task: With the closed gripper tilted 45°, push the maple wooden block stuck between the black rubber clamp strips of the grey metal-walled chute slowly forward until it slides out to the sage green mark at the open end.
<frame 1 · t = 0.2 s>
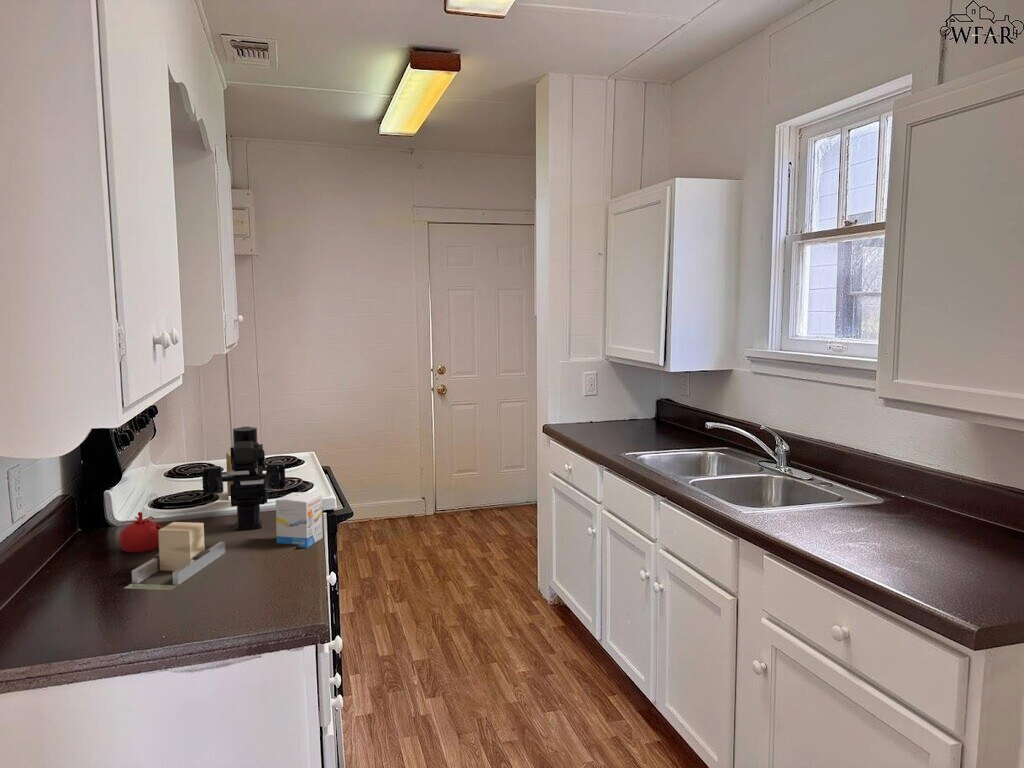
hand: (243, 487, 162), 17 cm above the worktop, tool horizontal, fingers open, 9 cm apart
jammed block: (182, 546, 155), point 5 cm above the worktop, slide at 0.0 cm
ink box: (300, 542, 175), on the worktop
chute: (181, 570, 155), on the worktop
sandwich container: (255, 496, 220), on the worktop
pomegranate: (142, 551, 168), on the worktop
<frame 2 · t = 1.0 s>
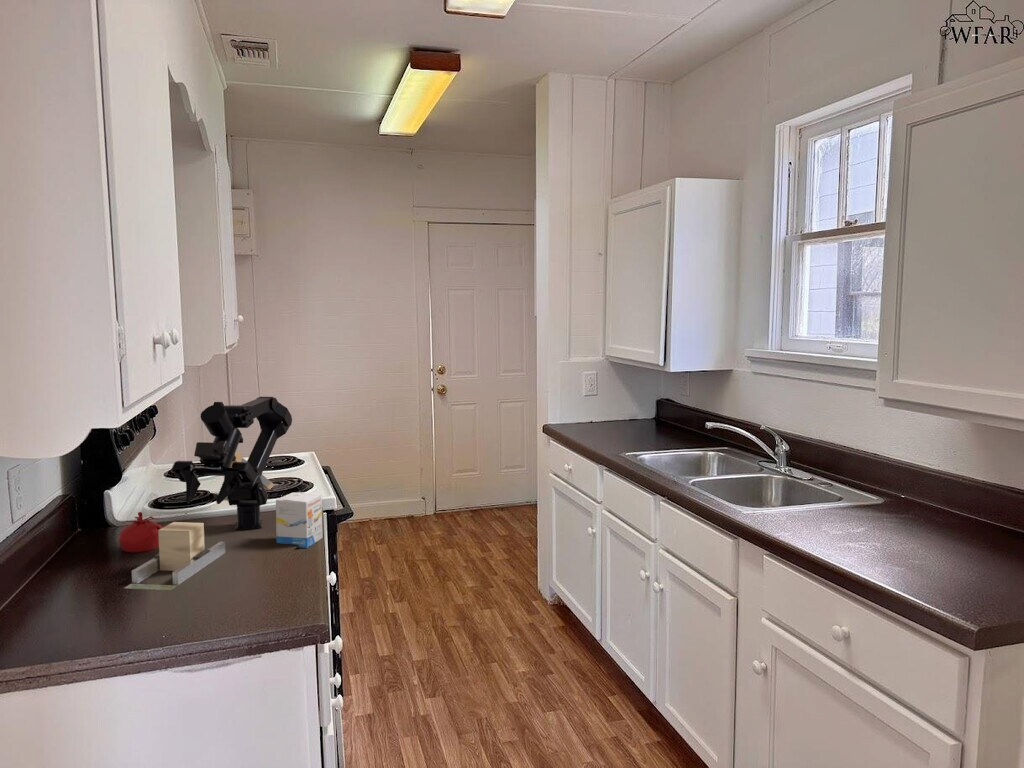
hand: (202, 502, 163), 13 cm above the worktop, tool tilted 45°, fingers open, 7 cm apart
nothing on the worktop moved.
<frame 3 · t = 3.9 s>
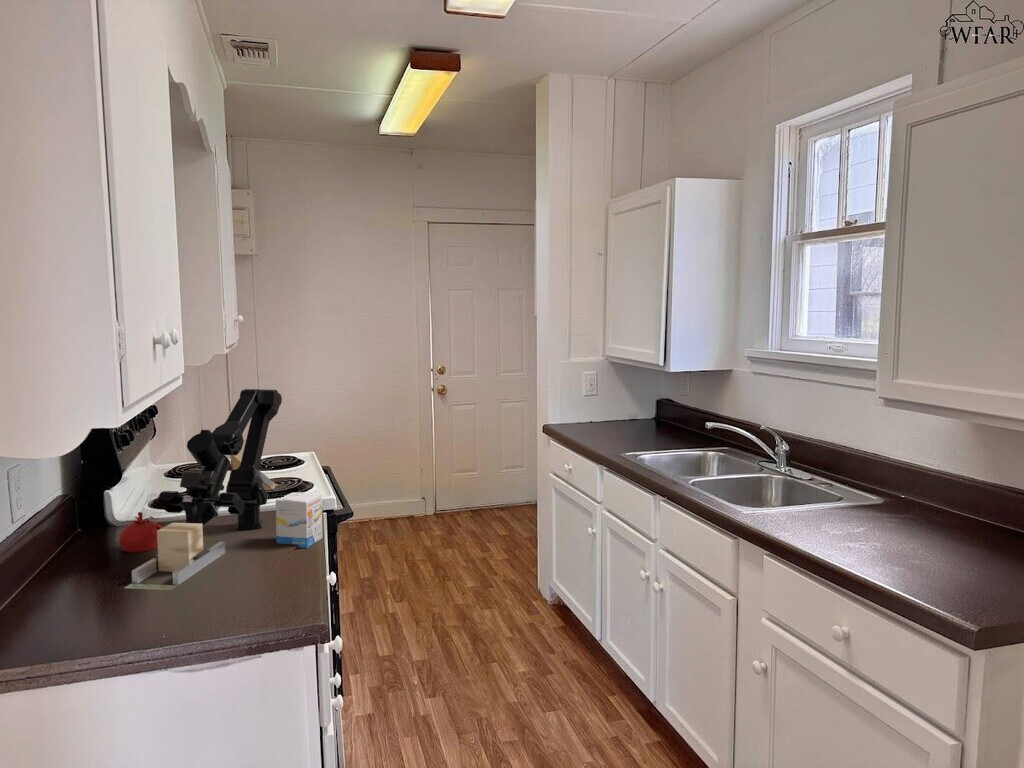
hand: (188, 535, 157), 7 cm above the worktop, tool tilted 45°, fingers closed, pressing on jammed block
jammed block: (180, 547, 154), point 5 cm above the worktop, slide at 0.5 cm, touching gripper
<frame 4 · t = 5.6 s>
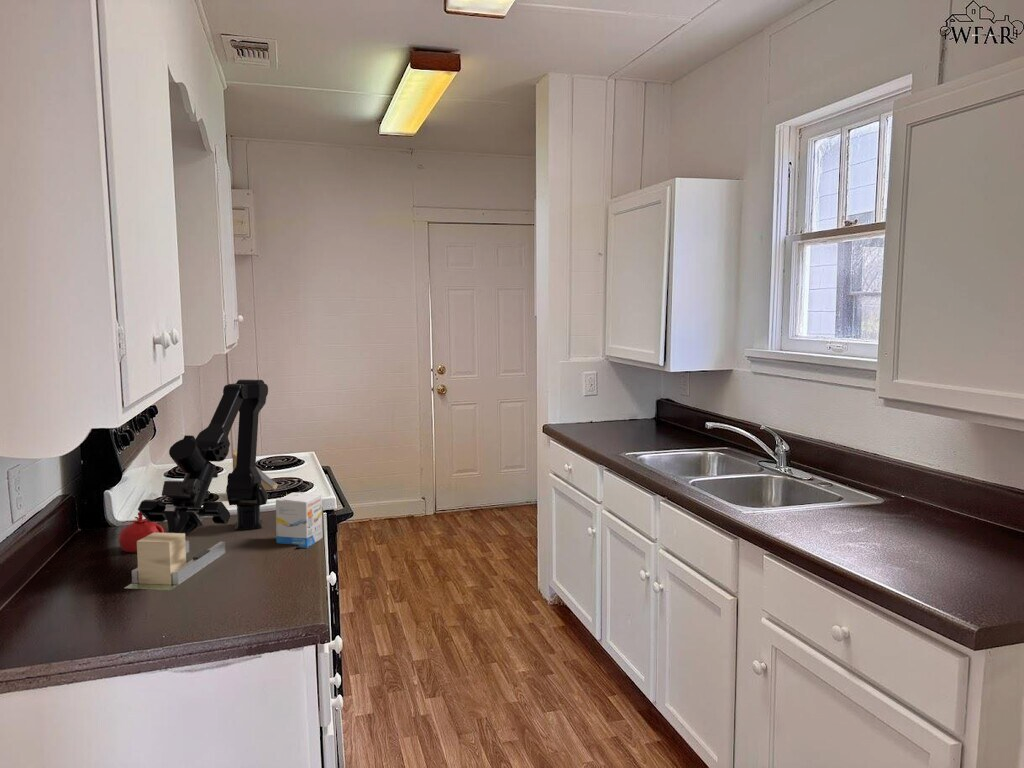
hand: (170, 546, 150), 7 cm above the worktop, tool tilted 45°, fingers closed, pressing on jammed block
jammed block: (162, 558, 147), point 5 cm above the worktop, slide at 7.7 cm, touching gripper
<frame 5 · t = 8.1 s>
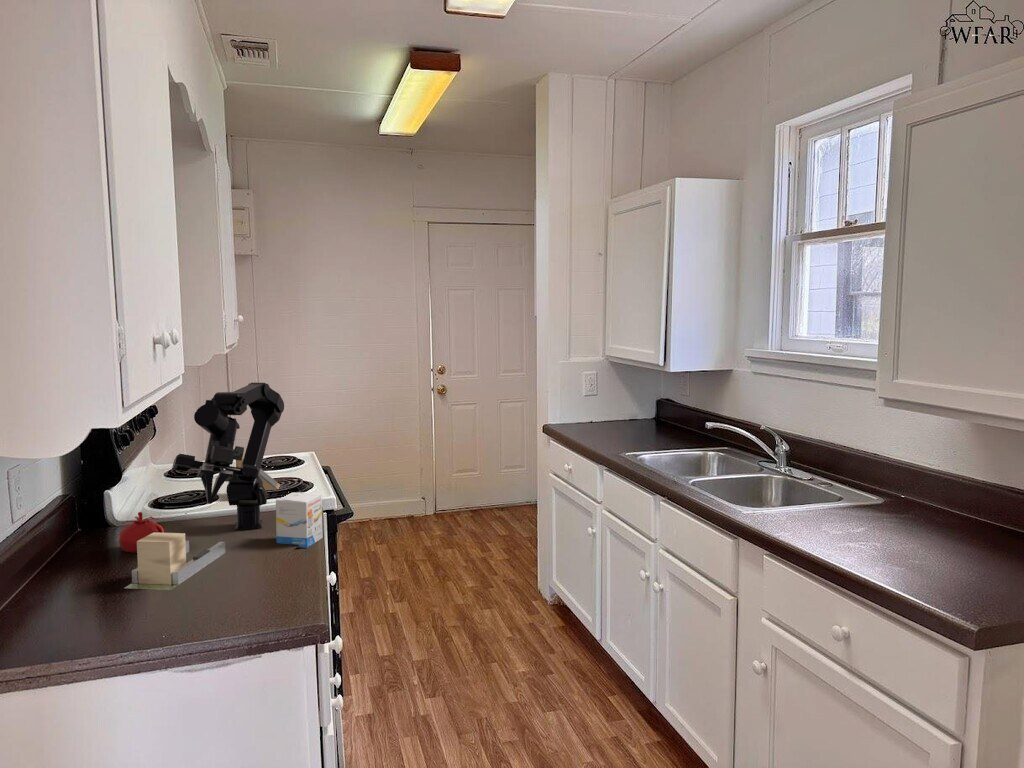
hand: (209, 503, 165), 12 cm above the worktop, tool tilted 30°, fingers closed
jammed block: (162, 558, 147), point 5 cm above the worktop, slide at 7.7 cm
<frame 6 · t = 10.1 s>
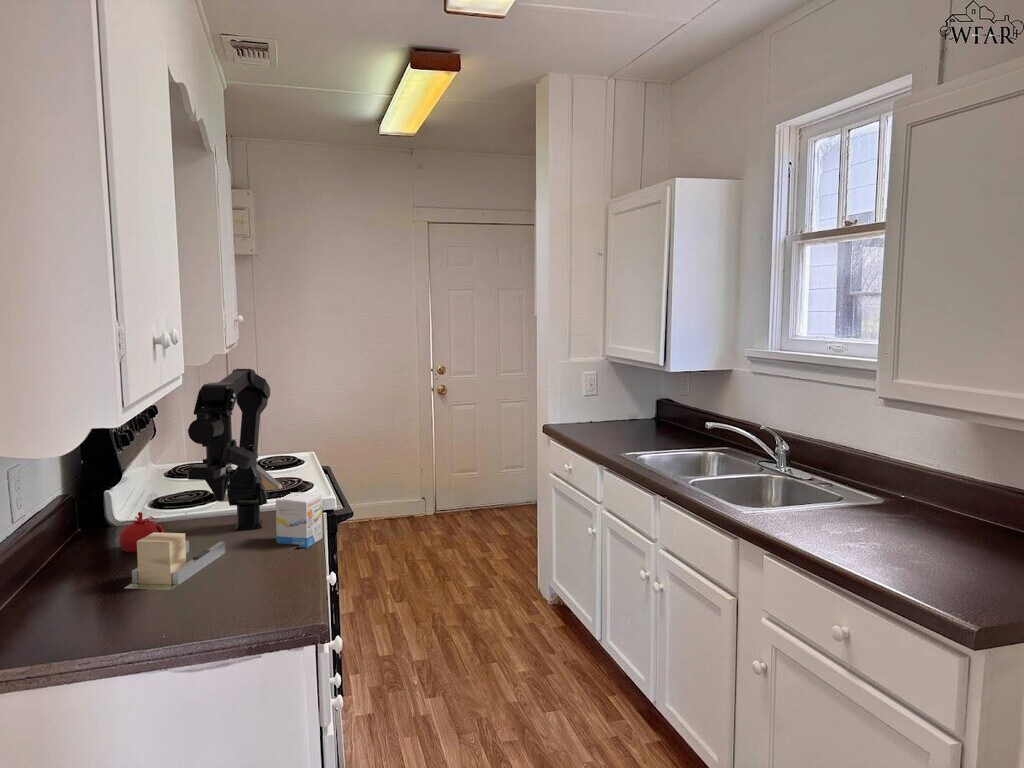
hand: (220, 500, 167), 12 cm above the worktop, tool pointing down, fingers closed
at the end: jammed block slide at 7.7 cm; the gripper is holding nothing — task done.
